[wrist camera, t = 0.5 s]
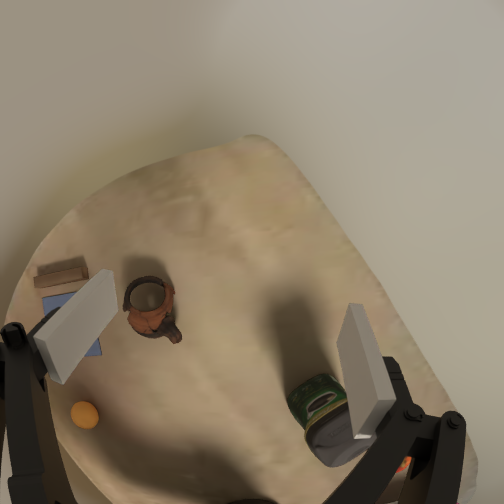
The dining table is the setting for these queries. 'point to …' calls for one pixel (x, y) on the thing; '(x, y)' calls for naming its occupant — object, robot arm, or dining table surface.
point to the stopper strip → (61, 277)
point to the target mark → (59, 301)
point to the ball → (84, 415)
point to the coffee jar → (327, 421)
